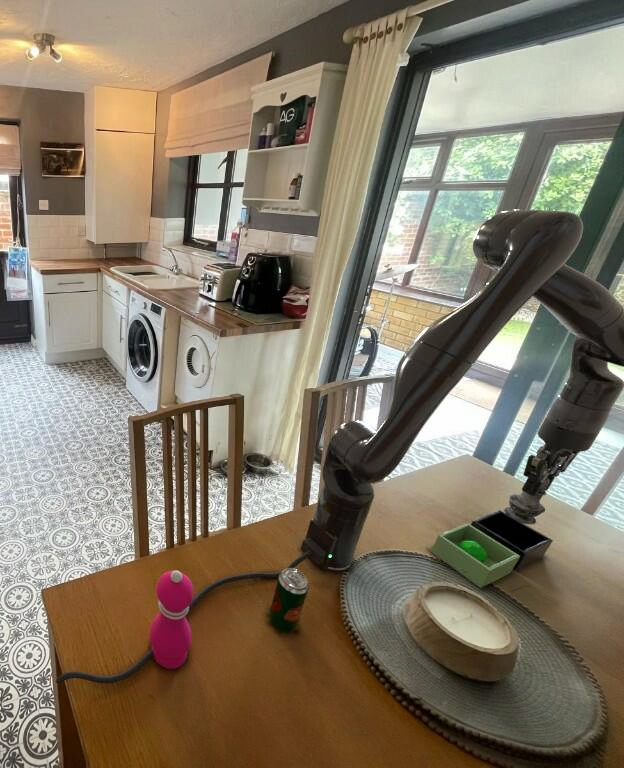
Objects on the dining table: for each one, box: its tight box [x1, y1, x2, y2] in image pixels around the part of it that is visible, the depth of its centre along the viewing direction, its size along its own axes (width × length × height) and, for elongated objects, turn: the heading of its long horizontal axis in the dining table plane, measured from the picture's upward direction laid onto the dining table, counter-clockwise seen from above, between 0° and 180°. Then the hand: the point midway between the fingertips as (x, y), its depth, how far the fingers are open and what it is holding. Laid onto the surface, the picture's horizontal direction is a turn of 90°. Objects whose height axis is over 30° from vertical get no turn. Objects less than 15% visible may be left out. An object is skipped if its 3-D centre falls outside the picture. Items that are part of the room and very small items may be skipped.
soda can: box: [268, 567, 309, 633], centre depth 76 cm, size 5×5×12 cm
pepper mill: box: [149, 570, 195, 670], centre depth 69 cm, size 7×7×20 cm
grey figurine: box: [503, 477, 550, 525], centre depth 88 cm, size 6×6×12 cm
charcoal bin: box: [470, 509, 554, 571], centre depth 94 cm, size 10×10×5 cm
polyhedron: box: [458, 541, 487, 563], centre depth 90 cm, size 5×5×5 cm
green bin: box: [430, 523, 520, 589], centre depth 90 cm, size 10×10×5 cm
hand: (534, 490), depth 88 cm, fingers closed on grey figurine, 3 cm apart
